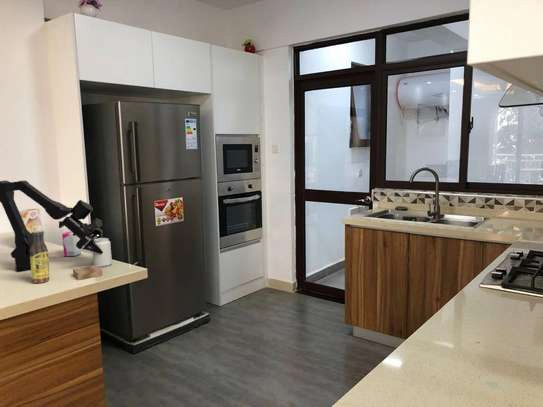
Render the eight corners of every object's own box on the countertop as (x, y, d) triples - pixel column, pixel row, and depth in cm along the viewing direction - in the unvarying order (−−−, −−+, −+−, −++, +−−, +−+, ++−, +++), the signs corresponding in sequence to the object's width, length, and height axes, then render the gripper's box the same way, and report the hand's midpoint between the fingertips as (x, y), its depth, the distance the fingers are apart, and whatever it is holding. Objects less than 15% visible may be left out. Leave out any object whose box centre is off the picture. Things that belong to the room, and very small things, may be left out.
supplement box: (81, 254, 208) (79, 231, 206) (75, 257, 202) (73, 233, 201) (70, 254, 209) (68, 231, 207) (63, 257, 203) (61, 233, 201)
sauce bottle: (37, 285, 160) (32, 233, 158) (28, 282, 163) (23, 232, 161) (54, 280, 166) (49, 230, 163) (45, 278, 169) (40, 229, 166)
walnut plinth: (78, 280, 165) (78, 274, 164) (73, 275, 172) (72, 269, 172) (102, 275, 170) (101, 269, 170) (96, 270, 177) (95, 265, 177)
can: (94, 269, 180) (92, 241, 179) (93, 265, 187) (90, 238, 185) (113, 266, 183) (111, 239, 182) (111, 262, 190) (109, 236, 189)
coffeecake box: (28, 248, 223) (24, 212, 221) (15, 248, 224) (11, 212, 221) (43, 242, 238) (40, 208, 236) (31, 242, 238) (27, 208, 236)
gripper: (81, 217, 173) (111, 242, 175) (96, 210, 191) (123, 233, 193) (63, 236, 173) (93, 261, 175) (80, 228, 191) (107, 250, 194)
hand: (105, 250), depth 184 cm, fingers closed on can, 7 cm apart
